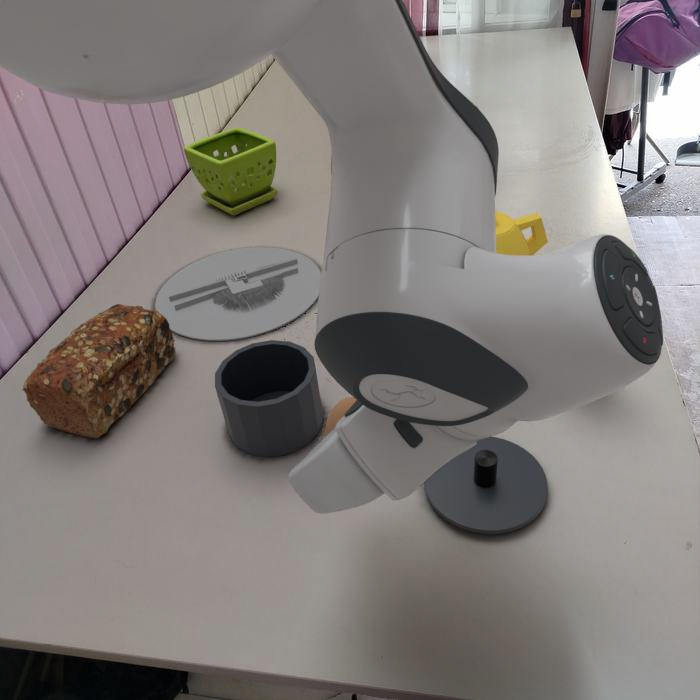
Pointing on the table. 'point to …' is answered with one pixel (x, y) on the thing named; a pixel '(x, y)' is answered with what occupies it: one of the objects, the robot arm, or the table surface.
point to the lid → (489, 488)
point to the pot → (270, 397)
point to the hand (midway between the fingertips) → (347, 429)
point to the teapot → (519, 234)
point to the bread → (100, 370)
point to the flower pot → (234, 169)
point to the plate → (239, 293)
